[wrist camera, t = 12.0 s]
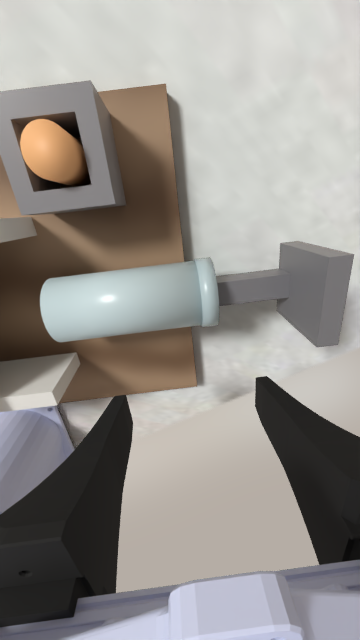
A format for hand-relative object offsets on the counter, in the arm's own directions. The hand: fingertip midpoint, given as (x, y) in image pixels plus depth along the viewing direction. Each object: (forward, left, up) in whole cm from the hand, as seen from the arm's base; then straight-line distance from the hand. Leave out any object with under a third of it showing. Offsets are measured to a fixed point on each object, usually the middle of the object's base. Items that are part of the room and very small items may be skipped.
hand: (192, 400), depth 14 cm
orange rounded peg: (+13, +5, -7) cm, 16 cm away
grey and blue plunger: (+4, 0, -8) cm, 9 cm away
